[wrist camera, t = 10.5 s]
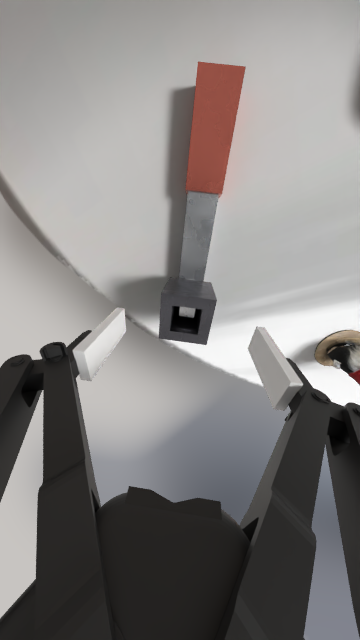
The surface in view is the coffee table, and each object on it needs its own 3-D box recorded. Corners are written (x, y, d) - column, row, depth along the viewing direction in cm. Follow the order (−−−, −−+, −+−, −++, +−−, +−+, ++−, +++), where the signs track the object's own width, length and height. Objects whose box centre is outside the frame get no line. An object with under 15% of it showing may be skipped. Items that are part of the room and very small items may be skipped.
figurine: (374, 320, 23) (458, 404, 19) (345, 322, 32) (399, 381, 28) (313, 348, 26) (375, 425, 22) (302, 343, 35) (345, 398, 31)
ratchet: (202, 309, 28) (204, 331, 22) (171, 305, 29) (164, 325, 22) (245, 90, 17) (275, 6, 10) (190, 84, 17) (188, -3, 11)
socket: (170, 277, 24) (161, 292, 18) (211, 282, 24) (216, 300, 17) (167, 313, 27) (158, 338, 20) (203, 318, 26) (206, 344, 20)
